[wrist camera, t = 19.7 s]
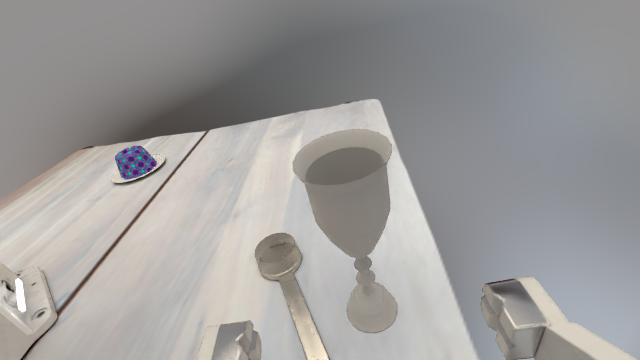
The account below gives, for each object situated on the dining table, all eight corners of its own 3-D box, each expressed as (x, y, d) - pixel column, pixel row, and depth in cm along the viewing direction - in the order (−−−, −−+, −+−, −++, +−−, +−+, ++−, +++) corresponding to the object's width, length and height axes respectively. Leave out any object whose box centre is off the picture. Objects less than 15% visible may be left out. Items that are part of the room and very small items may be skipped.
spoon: (361, 378, 26) (359, 373, 25) (302, 412, 24) (299, 407, 24) (290, 231, 43) (288, 227, 42) (253, 247, 41) (251, 243, 41)
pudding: (113, 172, 74) (100, 153, 71) (163, 152, 78) (153, 133, 75) (112, 192, 65) (97, 172, 62) (169, 168, 69) (157, 148, 66)
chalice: (402, 352, 27) (382, 186, 17) (329, 336, 29) (275, 184, 19) (410, 282, 32) (398, 127, 22) (348, 274, 35) (313, 131, 25)
